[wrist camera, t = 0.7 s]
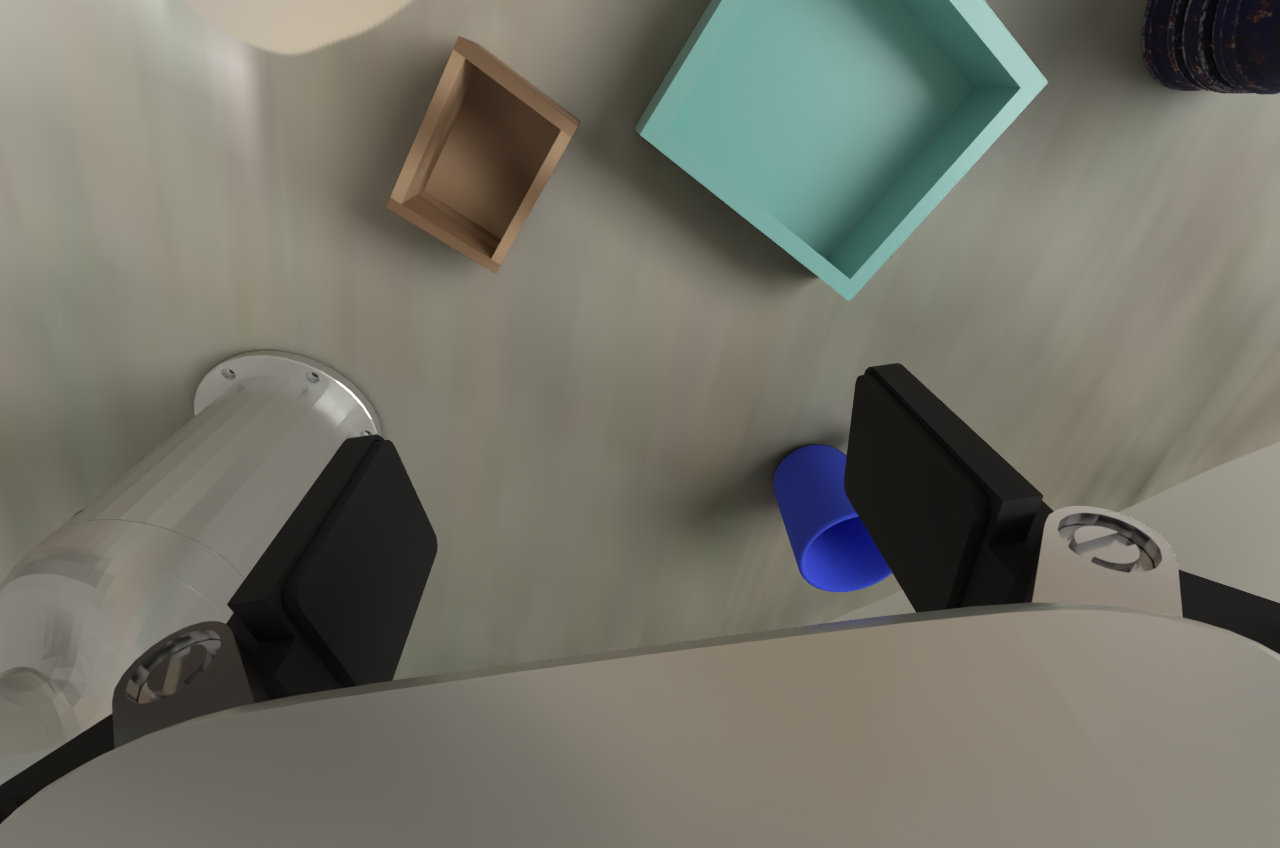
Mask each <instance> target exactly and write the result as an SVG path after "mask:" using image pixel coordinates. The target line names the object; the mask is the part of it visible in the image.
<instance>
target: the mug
mask: <svg viewBox="0 0 1280 848" xmlns="http://www.w3.org/2000/svg"><path fill="white" fill-rule="evenodd" d="M846 459H847V456H846V455H845V454H844V453H842V452H841V451H839V450H838V449H836V448H833V447H831V446H827V445H810V446H805V447H802V448H799V449H797V450H795V451H794V452H792V453H790V454H789V455H788V456H787V457H786V458H784V459H783V461H782V462H781V463H780V464H779V466H778V468H777V470H776V472H775V475H774V492H775V496H776V499H777V502H778V506H779V509H780V512H781V515H782V518H783V521H784V524H785V527H786V531H787V534H788V537H789V540H790V543H791V546H792V549H793V552H794V556H795V559H796V562H797V565H798V568H799V571H800V573H801V575H802V576H803V578H804V579H805V580H806V581H807V582H808V583H809V584H811V585H812V586H814V587H816V588H818V589H821V590H825V591H831V592H848V591H854V590H859V589H862V588H866V587H868V586H871V585H873V584H876V583H877V582H879V581H881V580H883V579H884V578H886V577H888V576H889V575H890V574H892V571H891V569H890V568H889V566H888V564H887V563H886V561H885V559H884V558H883V556H882V554H881V553H880V551H879V549H878V548H877V546H876V544H875V543H874V541H873V539H872V538H871V536H870V534H869V533H868V531H867V529H866V528H865V526H864V525H863V523H862V521H861V520H860V518H859V516H858V515H857V513H856V511H855V510H854V508H853V506H852V505H851V503H850V501H849V500H848V498H847V496H846V493H845V488H844V475H845V467H846Z"/></svg>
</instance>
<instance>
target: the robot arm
mask: <svg viewBox="0 0 1280 848" xmlns="http://www.w3.org/2000/svg"><path fill="white" fill-rule="evenodd" d="M194 416H195V417H194V418H192V419H191V420H190V421H189V422H187V423H186V424H185V425H184V426H183V427H181V428H180V429H179V430H178V431H176V432H175V433H174V434H173V435H172V436H170V437H169V438H168V439H167V440H165V441H164V442H163V443H162V444H161V445H159V446H158V447H157V448H156V449H154V450H153V451H152V452H151V453H149V454H148V455H147V456H146V457H145V458H143V459H142V460H141V461H140V462H138V463H137V464H136V465H135V466H134V467H132V468H131V469H130V470H129V471H127V472H126V473H125V474H124V475H123V476H121V477H120V478H119V479H118V480H116V481H115V482H114V483H113V484H112V485H110V486H109V487H108V488H107V489H105V490H104V491H103V492H102V493H101V494H99V495H98V496H97V497H96V498H94V499H93V500H92V501H91V502H90V503H88V504H87V505H86V506H85V507H83V508H82V509H81V510H80V511H79V512H77V513H76V514H75V515H74V516H72V517H71V518H70V519H69V520H68V521H67V522H65V523H64V524H63V525H62V526H61V527H59V528H58V529H57V530H56V531H55V532H53V533H52V534H50V535H49V536H48V537H47V538H46V539H44V540H43V541H42V542H41V543H40V544H38V545H37V546H36V547H35V548H34V549H33V550H31V551H30V552H29V553H28V554H27V555H25V556H24V557H23V558H22V559H21V560H20V561H19V562H18V563H17V564H16V565H15V567H14V568H13V569H12V570H11V572H10V573H9V574H8V575H7V577H6V578H5V579H4V581H3V582H2V584H1V586H0V848H1280V603H1277V602H1274V601H1271V600H1268V599H1265V598H1262V597H1259V596H1256V595H1253V594H1250V593H1247V592H1244V591H1241V590H1238V589H1235V588H1232V587H1229V586H1226V585H1223V584H1220V583H1217V582H1214V581H1211V580H1208V579H1205V578H1202V577H1199V576H1196V575H1193V574H1190V573H1187V572H1184V571H1181V570H1178V561H1177V558H1176V556H1175V553H1174V550H1173V548H1172V547H1171V546H1170V545H1169V544H1168V543H1167V542H1166V540H1165V539H1164V538H1163V537H1162V536H1160V535H1159V534H1158V533H1156V532H1155V531H1154V530H1152V529H1151V528H1149V527H1148V526H1147V525H1145V524H1143V523H1140V522H1138V521H1137V520H1135V519H1132V518H1130V517H1129V516H1126V515H1122V514H1120V513H1117V512H1114V511H1111V510H1107V509H1101V508H1096V507H1091V506H1070V507H1065V508H1060V509H1058V510H1056V511H1053V510H1052V509H1051V508H1050V507H1049V506H1047V505H1046V504H1045V503H1044V502H1043V501H1042V498H1043V495H1042V494H1041V493H1040V492H1039V491H1038V490H1037V489H1036V488H1035V487H1034V486H1033V485H1031V484H1030V483H1029V482H1028V481H1027V480H1026V479H1025V478H1024V477H1023V476H1022V475H1021V474H1020V473H1018V472H1017V471H1016V470H1015V469H1014V468H1013V467H1012V466H1011V465H1010V464H1009V463H1008V462H1007V461H1005V460H1004V459H1003V458H1002V457H1001V456H1000V455H999V454H998V453H997V452H996V451H995V450H994V449H992V448H991V447H990V446H989V445H988V444H987V443H986V442H985V441H984V440H983V439H982V438H981V437H980V436H978V435H977V434H976V433H975V432H974V431H973V430H972V429H971V428H970V427H969V426H968V425H967V424H965V423H964V422H963V421H962V420H961V419H960V418H959V417H958V416H957V415H956V414H955V413H954V412H952V411H951V410H950V409H949V408H948V407H947V406H946V405H945V404H944V403H943V402H942V401H941V400H939V399H938V398H937V397H936V396H935V395H934V394H933V393H932V392H931V391H930V390H929V389H928V388H926V387H925V386H924V385H923V384H922V383H921V382H920V381H919V380H918V379H917V378H916V377H915V376H914V375H912V374H911V373H910V372H909V371H908V370H907V369H906V368H905V367H904V366H903V365H901V364H899V363H895V364H888V365H881V366H873V367H869V368H867V369H866V371H865V373H864V375H861V376H859V377H858V378H857V380H856V384H855V393H854V401H853V409H852V417H851V426H850V434H849V442H848V450H847V459H846V467H845V475H844V488H845V493H846V496H847V498H848V500H849V501H850V503H851V505H852V506H853V508H854V510H855V511H856V513H857V515H858V516H859V518H860V520H861V521H862V523H863V525H864V526H865V528H866V529H867V531H868V533H869V534H870V536H871V538H872V539H873V541H874V543H875V544H876V546H877V548H878V549H879V551H880V553H881V554H882V556H883V558H884V559H885V561H886V563H887V564H888V566H889V568H890V569H891V571H892V573H893V574H894V576H895V578H896V579H897V581H898V583H899V584H900V586H901V588H902V589H903V591H904V593H905V594H906V596H907V597H908V599H909V601H910V603H911V604H912V606H913V608H914V609H915V611H916V613H910V614H900V615H891V616H883V617H873V618H865V619H857V620H849V621H841V622H833V623H825V624H817V625H809V626H801V627H793V628H785V629H778V630H770V631H762V632H754V633H746V634H738V635H730V636H722V637H714V638H707V639H699V640H691V641H684V642H676V643H668V644H661V645H653V646H645V647H638V648H630V649H623V650H615V651H607V652H600V653H592V654H585V655H577V656H570V657H562V658H555V659H547V660H539V661H532V662H525V663H518V664H510V665H503V666H496V667H488V668H481V669H474V670H466V671H459V672H452V673H445V674H437V675H430V676H423V677H415V678H408V679H401V680H393V677H394V674H395V671H396V668H397V665H398V663H399V660H400V657H401V654H402V651H403V648H404V645H405V642H406V640H407V637H408V634H409V631H410V628H411V625H412V622H413V619H414V617H415V614H416V611H417V608H418V605H419V602H420V599H421V596H422V594H423V591H424V588H425V585H426V582H427V579H428V576H429V573H430V571H431V568H432V565H433V562H434V559H435V556H436V553H437V538H436V535H435V532H434V530H433V528H432V526H431V524H430V522H429V520H428V517H427V515H426V513H425V511H424V509H423V507H422V504H421V502H420V500H419V498H418V496H417V494H416V491H415V489H414V487H413V485H412V483H411V481H410V478H409V476H408V474H407V472H406V470H405V468H404V465H403V463H402V461H401V459H400V457H399V455H398V452H397V450H396V448H395V446H394V444H393V443H392V442H391V441H390V440H384V439H383V438H382V430H381V427H380V423H379V419H378V417H377V415H376V413H375V411H374V409H373V407H372V406H371V404H370V403H369V402H368V400H367V399H366V398H365V396H364V395H363V394H362V392H360V391H359V390H358V389H357V388H356V387H355V386H354V385H353V384H352V383H351V382H350V381H349V380H347V379H346V378H345V377H343V376H342V375H340V374H339V373H338V372H336V371H335V370H333V369H331V368H329V367H327V366H325V365H323V364H321V363H319V362H318V361H315V360H312V359H309V358H306V357H303V356H301V355H297V354H292V353H287V352H282V351H266V350H261V351H253V352H245V353H242V354H239V355H236V356H233V357H230V358H228V359H227V360H225V361H223V362H222V363H220V364H219V365H217V366H216V367H215V368H213V369H212V370H211V371H210V372H208V373H207V374H206V375H205V376H204V378H203V379H202V381H201V382H200V384H199V385H198V387H197V390H196V393H195V396H194ZM392 680H393V681H392Z"/></svg>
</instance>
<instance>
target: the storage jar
mask: <svg viewBox="0 0 1280 848" xmlns="http://www.w3.org/2000/svg"><path fill="white" fill-rule="evenodd" d="M1142 51H1143V57H1144V61H1145V63H1146V66H1147V69H1148V70H1149V72H1150V73H1151V75H1152V76H1153V78H1154V79H1156V80H1157V81H1158V82H1159V83H1160V84H1161V85H1164V86H1166V87H1168V88H1170V89H1175V90H1180V91H1196V90H1206V91H1214V92H1219V93H1257V94H1277V93H1280V0H1149V1H1148V5H1147V9H1146V12H1145V16H1144V22H1143V28H1142Z"/></svg>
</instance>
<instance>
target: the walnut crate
mask: <svg viewBox="0 0 1280 848" xmlns="http://www.w3.org/2000/svg"><path fill="white" fill-rule="evenodd" d="M579 123H580V121H579V120H577V119H576V118H575V117H573V116H572V115H571V114H569V113H568V112H567V111H566V110H564V109H563V108H562V107H560V106H559V105H558V104H556V103H555V102H554V101H553V100H551V99H550V98H549V97H547V96H546V95H545V94H543V93H542V92H541V91H540V90H538V89H537V88H536V87H534V86H533V85H532V84H530V83H529V82H528V81H527V80H525V79H524V78H523V77H521V76H520V75H519V74H517V73H516V72H515V71H513V70H512V69H511V68H510V67H508V66H507V65H506V64H504V63H503V62H502V61H500V60H499V59H498V58H497V57H495V56H494V55H493V54H491V53H490V52H489V51H487V50H486V49H485V48H484V47H482V46H481V45H480V44H478V43H475V42H473V41H470V40H467V39H465V38H462V37H460V36H459V37H458V39H457V42H456V44H455V46H454V49H453V51H452V53H451V56H450V58H449V60H448V63H447V65H446V67H445V70H444V72H443V75H442V77H441V79H440V82H439V84H438V86H437V89H436V91H435V93H434V96H433V98H432V100H431V103H430V105H429V107H428V110H427V112H426V114H425V117H424V119H423V121H422V124H421V126H420V128H419V131H418V133H417V135H416V138H415V140H414V142H413V145H412V147H411V149H410V152H409V154H408V156H407V159H406V161H405V164H404V166H403V168H402V171H401V173H400V175H399V178H398V180H397V182H396V185H395V187H394V189H393V192H392V194H391V196H390V199H389V201H388V203H387V206H386V208H388V209H390V210H391V211H393V212H395V213H396V214H398V215H399V216H401V217H403V218H404V219H406V220H408V221H409V222H411V223H413V224H414V225H416V226H418V227H419V228H421V229H423V230H424V231H426V232H428V233H429V234H431V235H433V236H434V237H436V238H437V239H439V240H441V241H442V242H444V243H446V244H447V245H449V246H451V247H452V248H454V249H456V250H457V251H459V252H461V253H462V254H464V255H466V256H467V257H469V258H470V259H472V260H474V261H475V262H477V263H479V264H480V265H482V266H484V267H485V268H487V269H489V270H490V271H492V272H494V273H495V274H496V273H497V271H498V269H499V267H500V265H501V264H502V262H503V260H504V258H505V256H506V255H507V253H508V251H509V249H510V247H511V246H512V244H513V242H514V240H515V238H516V237H517V235H518V233H519V231H520V229H521V228H522V226H523V224H524V222H525V220H526V219H527V217H528V215H529V213H530V211H531V210H532V208H533V206H534V204H535V202H536V201H537V199H538V197H539V195H540V193H541V192H542V190H543V188H544V186H545V184H546V183H547V181H548V179H549V177H550V175H551V174H552V172H553V170H554V168H555V166H556V165H557V163H558V161H559V159H560V157H561V156H562V154H563V152H564V150H565V149H566V147H567V145H568V143H569V141H570V140H571V138H572V136H573V134H574V132H575V131H576V129H577V127H578V125H579Z"/></svg>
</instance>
